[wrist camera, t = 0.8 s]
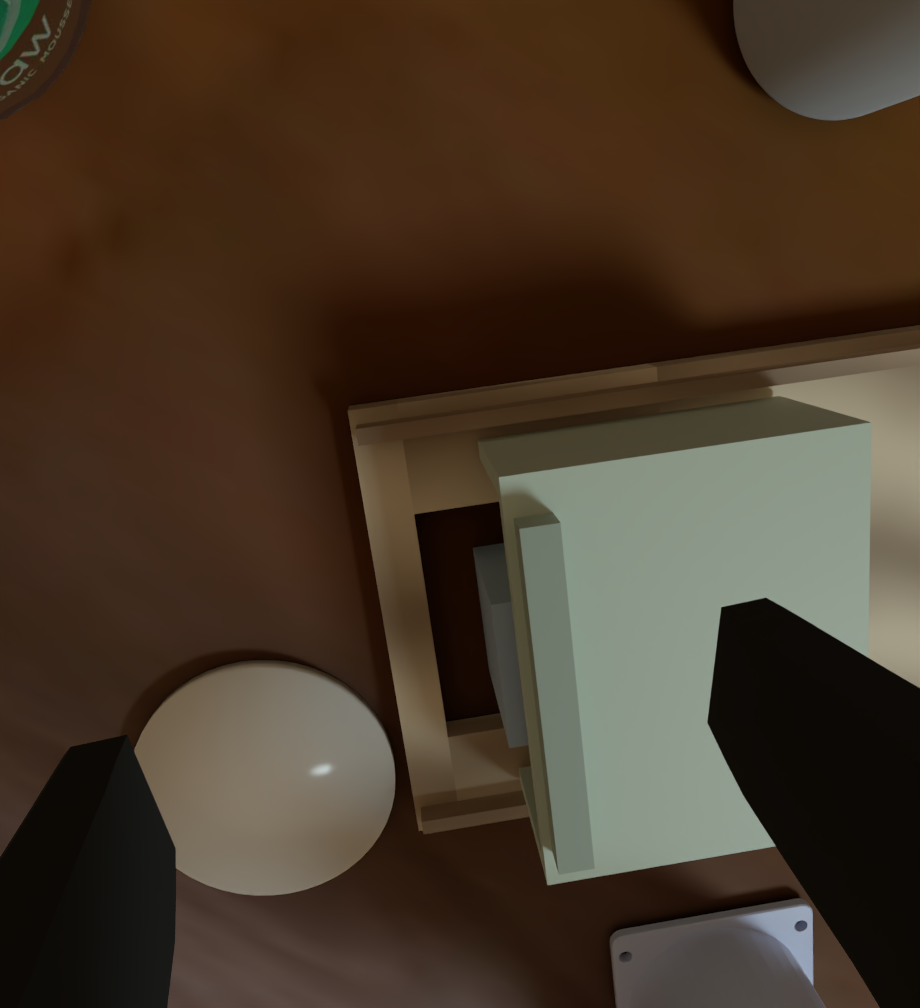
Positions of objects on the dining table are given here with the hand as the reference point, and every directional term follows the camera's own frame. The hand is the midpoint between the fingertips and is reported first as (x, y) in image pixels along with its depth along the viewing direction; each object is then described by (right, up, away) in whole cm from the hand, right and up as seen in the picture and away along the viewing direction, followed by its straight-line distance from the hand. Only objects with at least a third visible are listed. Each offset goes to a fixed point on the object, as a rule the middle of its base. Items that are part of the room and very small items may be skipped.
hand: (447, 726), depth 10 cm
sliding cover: (+6, 0, +16) cm, 18 cm away
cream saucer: (-7, -7, +18) cm, 21 cm away
